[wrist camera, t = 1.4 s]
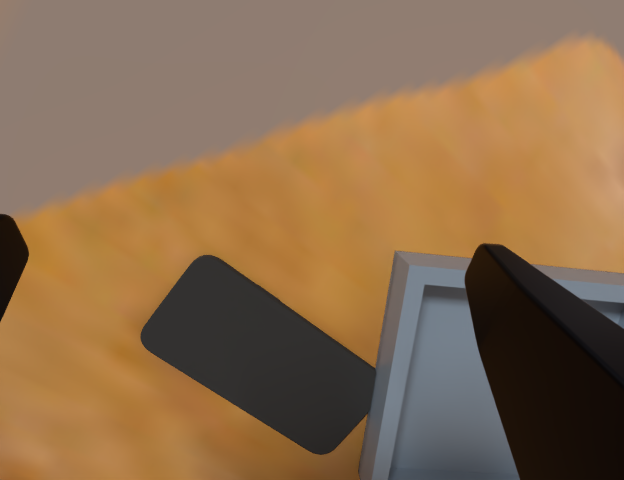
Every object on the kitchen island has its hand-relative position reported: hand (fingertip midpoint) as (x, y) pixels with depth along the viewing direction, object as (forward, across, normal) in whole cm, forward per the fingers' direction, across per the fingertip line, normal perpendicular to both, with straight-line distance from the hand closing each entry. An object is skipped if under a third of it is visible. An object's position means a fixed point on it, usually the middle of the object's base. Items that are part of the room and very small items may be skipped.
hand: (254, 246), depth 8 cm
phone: (+9, 0, +17) cm, 19 cm away
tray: (+8, -15, +17) cm, 24 cm away
